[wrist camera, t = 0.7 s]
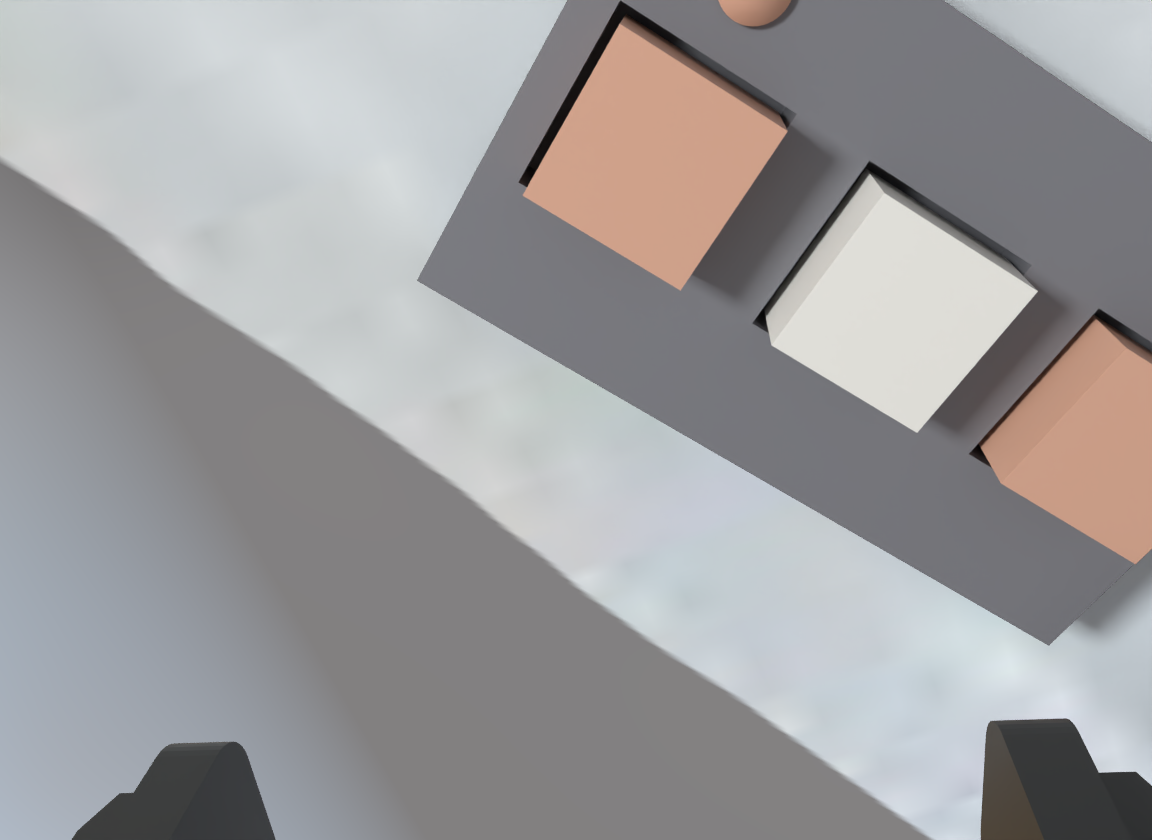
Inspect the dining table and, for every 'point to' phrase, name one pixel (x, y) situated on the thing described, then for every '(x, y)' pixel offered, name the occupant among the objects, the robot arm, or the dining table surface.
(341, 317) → the dining table surface
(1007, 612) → the keypad
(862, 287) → the key middle
